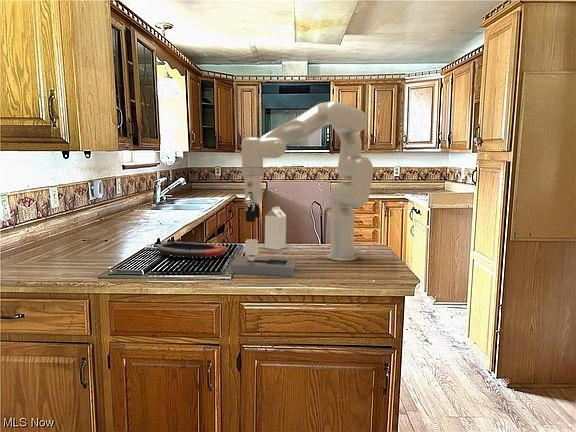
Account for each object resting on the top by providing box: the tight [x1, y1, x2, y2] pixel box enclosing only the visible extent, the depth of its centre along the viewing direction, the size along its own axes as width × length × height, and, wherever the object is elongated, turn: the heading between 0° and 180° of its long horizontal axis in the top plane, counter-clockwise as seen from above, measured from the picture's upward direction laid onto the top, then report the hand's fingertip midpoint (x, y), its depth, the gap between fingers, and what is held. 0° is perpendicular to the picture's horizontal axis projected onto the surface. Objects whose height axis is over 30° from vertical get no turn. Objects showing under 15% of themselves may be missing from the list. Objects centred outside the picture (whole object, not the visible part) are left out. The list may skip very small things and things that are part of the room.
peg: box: [244, 238, 259, 262], centre depth 159 cm, size 5×5×11 cm
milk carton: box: [264, 205, 287, 251], centre depth 196 cm, size 7×7×19 cm
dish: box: [156, 240, 229, 257], centre depth 179 cm, size 16×31×5 cm, turn 77°
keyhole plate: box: [229, 255, 296, 277], centre depth 159 cm, size 22×13×3 cm, turn 84°
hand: (253, 219), depth 157 cm, fingers open, 9 cm apart
